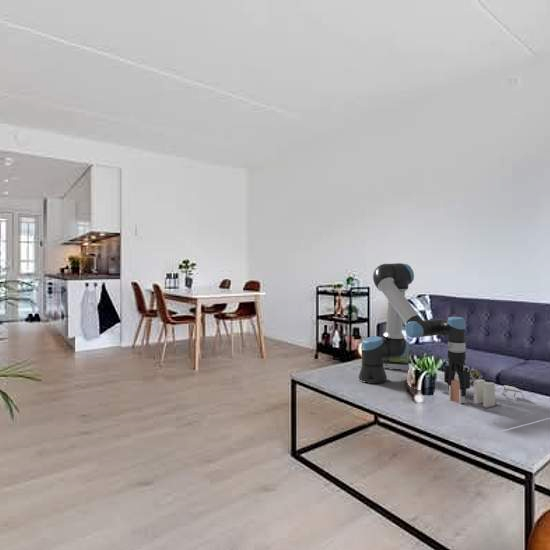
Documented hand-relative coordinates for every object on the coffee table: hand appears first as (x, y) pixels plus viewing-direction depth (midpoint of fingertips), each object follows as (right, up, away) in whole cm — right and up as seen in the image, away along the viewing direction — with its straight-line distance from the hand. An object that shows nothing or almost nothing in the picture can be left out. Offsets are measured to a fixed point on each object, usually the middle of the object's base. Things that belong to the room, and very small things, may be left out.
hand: (456, 400), depth 185 cm
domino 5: (+12, 0, -6) cm, 13 cm away
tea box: (-10, +1, +61) cm, 62 cm away
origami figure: (+28, 0, +3) cm, 28 cm away
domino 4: (+10, 0, -1) cm, 10 cm away
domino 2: (0, -1, 0) cm, 1 cm away
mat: (+8, -1, +3) cm, 9 cm away
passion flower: (+19, 0, +26) cm, 32 cm away
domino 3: (+6, 0, +8) cm, 10 cm away
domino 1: (+4, 0, +13) cm, 13 cm away
